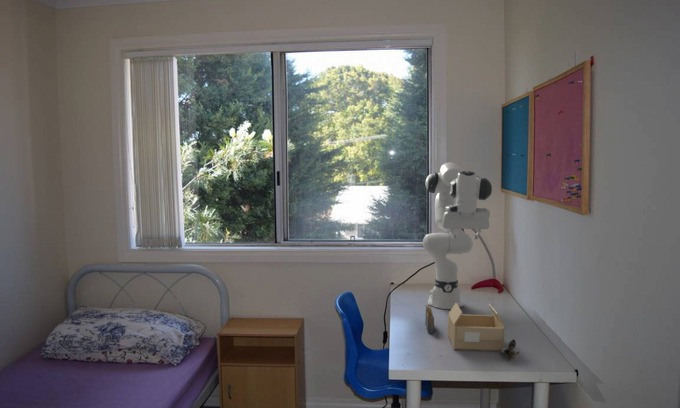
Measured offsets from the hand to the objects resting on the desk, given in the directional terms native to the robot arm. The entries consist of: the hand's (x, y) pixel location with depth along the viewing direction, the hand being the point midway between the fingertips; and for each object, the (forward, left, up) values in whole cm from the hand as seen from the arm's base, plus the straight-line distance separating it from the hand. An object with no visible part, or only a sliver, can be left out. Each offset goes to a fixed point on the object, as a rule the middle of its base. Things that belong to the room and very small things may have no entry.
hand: (465, 238), depth 213 cm
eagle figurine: (+26, +14, -43) cm, 52 cm away
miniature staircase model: (-3, -14, -43) cm, 46 cm away
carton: (+14, +3, -43) cm, 45 cm away
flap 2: (+14, +13, -32) cm, 37 cm away
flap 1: (+14, -7, -32) cm, 36 cm away
